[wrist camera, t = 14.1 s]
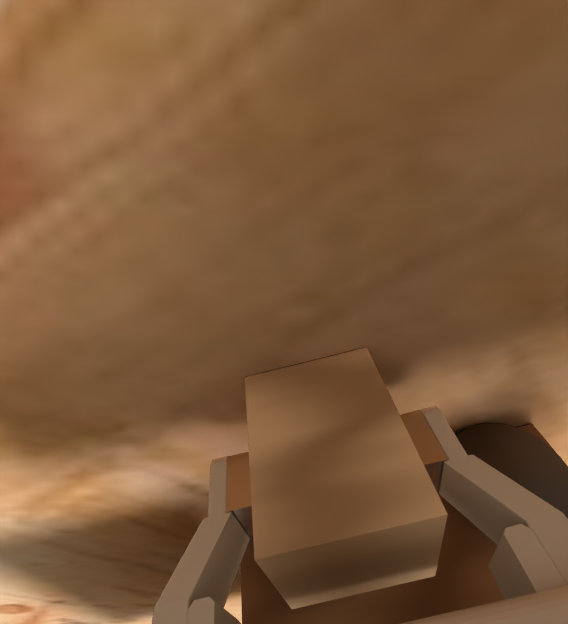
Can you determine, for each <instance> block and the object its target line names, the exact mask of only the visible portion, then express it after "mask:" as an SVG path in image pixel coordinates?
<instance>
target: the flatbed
mask: <svg viewBox="0 0 568 624" xmlns="http://www.w3.org/2000/svg"><path fill="white" fill-rule="evenodd" d="M456 437H457V439H458V440H459V442H460V444H461V445H462V447H463V449H464V450H465V452H466V453H467V455H474V456H476V457H477V458H479V459H480V460H482V461H484V462H485V463H487V464H488V465H490V466H491V467H493V468H494V469H496V470H497V471H499V472H501V473H502V474H504V475H505V476H507V477H508V478H510V479H511V480H513V481H514V482H516V483H518V484H519V485H521V486H522V487H524V488H525V489H527V490H528V491H530V492H531V493H533V494H535V495H536V496H538V497H539V498H541V499H542V500H544V501H545V502H547V503H548V504H550V505H552V506H553V507H555V508H556V509H558V510H559V511H561V512H562V513H563V514H564V515H565V516H566V518H567V519H568V466H567V465H566V464H565V463H564V461H563V460H562V459H561V457H560V456H559V455H558V454H557V453H556V452H555V451H554V449H553V448H552V447H551V446H550V445H549V443H548V442H547V441H546V440H545V439H544V437H543V436H542V435H541V434H540V433H539V431H538V430H537V429H536V428H535V427H534V425H533V424H529V425H525V426H521V427H517V428H516V427H513V426H509V425H505V424H498V423H483V424H477V425H474V426H471V427H469V428H467V429H465V430H463V431H462V432H460V433H459V434H458V435H457V436H456ZM437 493H438V495H439V497H440V499H441V502H442V504H443V506H444V508H445V510H446V512H447V514H448V515H447V520H446V525H445V530H444V535H443V540H442V545H441V550H440V555H439V560H438V565H437V570H436V575H435V576H433V577H429V578H425V579H420V580H416V581H412V582H408V583H403V584H399V585H395V586H390V587H386V588H382V589H377V590H373V591H369V592H365V593H360V594H356V595H352V596H347V597H343V598H339V599H334V600H330V601H326V602H322V603H317V604H313V605H309V606H304V607H300V608H296V609H291V608H290V606H289V605H288V604H287V602H286V601H285V600H284V598H283V597H282V596H281V594H280V593H279V592H278V590H277V589H276V588H275V586H274V585H273V584H272V582H271V581H270V580H269V578H268V577H267V576H266V574H265V573H264V572H263V570H262V569H261V568H260V566H259V565H258V564H257V562H256V561H255V559H254V541H253V536H251V537H249V538H250V540H249V542H248V545H247V548H246V550H245V553H244V556H243V558H242V561H241V594H242V624H401V623H405V622H409V621H414V620H418V619H422V618H427V617H431V616H435V615H440V614H444V613H449V612H453V611H457V610H462V609H466V608H470V607H475V606H479V605H483V604H488V603H492V602H496V601H501V600H505V599H504V597H503V595H502V593H501V591H500V589H499V587H498V585H497V583H496V581H495V579H494V577H493V575H492V573H491V571H490V569H489V567H488V566H489V563H490V560H491V558H492V556H493V554H494V552H495V549H496V547H497V544H496V543H495V542H494V541H492V540H491V539H490V538H489V537H488V536H487V535H486V534H484V533H483V532H482V531H481V530H480V529H479V528H478V527H476V526H475V525H474V524H473V523H472V522H471V521H470V520H468V519H467V518H466V517H465V516H464V515H463V514H462V513H460V512H459V511H458V510H457V509H456V508H455V507H454V506H452V505H451V504H450V503H449V502H448V501H447V500H446V499H444V498H443V497H442V496H441V495H440V494H439V492H437Z"/></svg>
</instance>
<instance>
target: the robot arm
mask: <svg viewBox="0 0 568 624" xmlns="http://www.w3.org/2000/svg"><path fill="white" fill-rule="evenodd" d="M400 417H401V419H402V421H403V423H404V425H405V427H406V429H407V431H408V433H409V435H410V437H411V440H412V442H413V444H414V446H415V448H416V450H417V452H418V454H419V456H420V458H421V460H422V462H423V464H424V466H425V468H426V471H427V473H428V475H429V477H430V479H431V481H432V483H433V485H434V487H435V489H436V491H437V492H439V494H440V495H441V496H442V497H443V498H444V499H446V500H447V501H448V502H449V503H450V504H451V505H452V506H454V507H455V508H456V509H457V510H458V511H459V512H460V513H462V514H463V515H464V516H465V517H466V518H467V519H468V520H470V521H471V522H472V523H473V524H474V525H475V526H476V527H478V528H479V529H480V530H481V531H482V532H483V533H484V534H486V535H487V536H488V537H489V538H490V539H491V540H492V541H494V542H495V543H496V544H497V547H496V549H495V552H494V554H493V556H492V558H491V560H490V563H489V566H488V567H489V569H490V571H491V573H492V575H493V577H494V579H495V581H496V583H497V585H498V587H499V589H500V591H501V593H502V595H503V597H504V599H505V600H501V601H496V602H492V603H488V604H483V605H479V606H475V607H470V608H466V609H462V610H457V611H453V612H449V613H444V614H440V615H435V616H431V617H427V618H422V619H418V620H414V621H409V622H405V623H401V624H568V519H567V518H566V516H565V515H564V514H563V513H562V512H561V511H559V510H558V509H556V508H555V507H553V506H552V505H550V504H548V503H547V502H545V501H544V500H542V499H541V498H539V497H538V496H536V495H535V494H533V493H531V492H530V491H528V490H527V489H525V488H524V487H522V486H521V485H519V484H518V483H516V482H514V481H513V480H511V479H510V478H508V477H507V476H505V475H504V474H502V473H501V472H499V471H497V470H496V469H494V468H493V467H491V466H490V465H488V464H487V463H485V462H484V461H482V460H480V459H479V458H477V457H476V456H474V455H467V453H466V452H465V450H464V449H463V447H462V445H461V444H460V442H459V440H458V439H457V437H456V435H455V434H454V432H453V431H452V429H451V427H450V426H449V424H448V422H447V421H446V419H445V418H444V416H443V414H442V413H441V411H440V410H439V409H438V408H437V407H435V406H434V407H430V408H426V409H422V410H416V411H413V412H409V413H405V414H401V415H400ZM251 536H253V522H252V504H251V485H250V467H249V452H245V453H240V454H236V455H232V456H227V457H223V458H219V459H215V460H212V462H211V466H210V484H209V506H208V517H206V518H203V520H202V522H201V523H200V525H199V527H198V529H197V531H196V532H195V534H194V536H193V538H192V540H191V542H190V543H189V545H188V547H187V549H186V551H185V552H184V554H183V556H182V558H181V560H180V561H179V563H178V565H177V567H176V569H175V570H174V572H173V574H172V576H171V578H170V579H169V581H168V583H167V585H166V587H165V588H164V590H163V592H162V594H161V596H160V598H159V599H158V601H157V603H156V605H155V607H154V611H153V618H152V624H241V623H240V622H239V621H238V620H237V619H236V618H235V617H234V616H233V615H231V614H230V613H229V612H228V611H226V610H225V609H224V605H225V603H226V600H227V598H228V595H229V592H230V590H231V587H232V584H233V582H234V579H235V577H236V574H237V571H238V569H239V566H240V563H241V561H242V558H243V556H244V553H245V550H246V548H247V545H248V542H249V540H250V538H249V537H251Z"/></svg>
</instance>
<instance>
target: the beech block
mask: <svg viewBox="0 0 568 624" xmlns="http://www.w3.org/2000/svg"><path fill="white" fill-rule="evenodd" d="M245 393H246V411H247V430H248V448H249V467H250V485H251V504H252V522H253V541H254V559H255V561H256V562H257V564H258V565H259V566H260V568H261V569H262V570H263V572H264V573H265V574H266V576H267V577H268V578H269V580H270V581H271V582H272V584H273V585H274V586H275V588H276V589H277V590H278V592H279V593H280V594H281V596H282V597H283V598H284V600H285V601H286V602H287V604H288V605H289V606H290V608H291V609H296V608H300V607H304V606H309V605H313V604H317V603H322V602H326V601H330V600H334V599H339V598H343V597H347V596H352V595H356V594H360V593H365V592H369V591H373V590H377V589H382V588H386V587H390V586H395V585H399V584H403V583H408V582H412V581H416V580H420V579H425V578H429V577H433V576H435V575H436V570H437V565H438V560H439V555H440V550H441V545H442V540H443V535H444V530H445V525H446V520H447V515H448V514H447V512H446V510H445V508H444V506H443V504H442V502H441V499H440V497H439V495H438V493H437V491H436V489H435V487H434V485H433V483H432V481H431V479H430V477H429V475H428V473H427V471H426V468H425V466H424V464H423V462H422V460H421V458H420V456H419V454H418V452H417V450H416V448H415V446H414V444H413V442H412V440H411V437H410V435H409V433H408V431H407V429H406V427H405V425H404V423H403V421H402V419H401V417H400V415H399V413H398V411H397V409H396V406H395V404H394V402H393V400H392V398H391V396H390V394H389V392H388V390H387V388H386V386H385V384H384V382H383V380H382V378H381V376H380V373H379V371H378V369H377V367H376V365H375V363H374V361H373V359H372V357H371V355H370V353H369V351H368V349H367V348H362V349H358V350H354V351H350V352H346V353H342V354H338V355H334V356H330V357H326V358H322V359H318V360H313V361H309V362H305V363H301V364H297V365H293V366H289V367H285V368H281V369H277V370H273V371H269V372H265V373H260V374H256V375H252V376H248V377H245Z"/></svg>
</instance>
